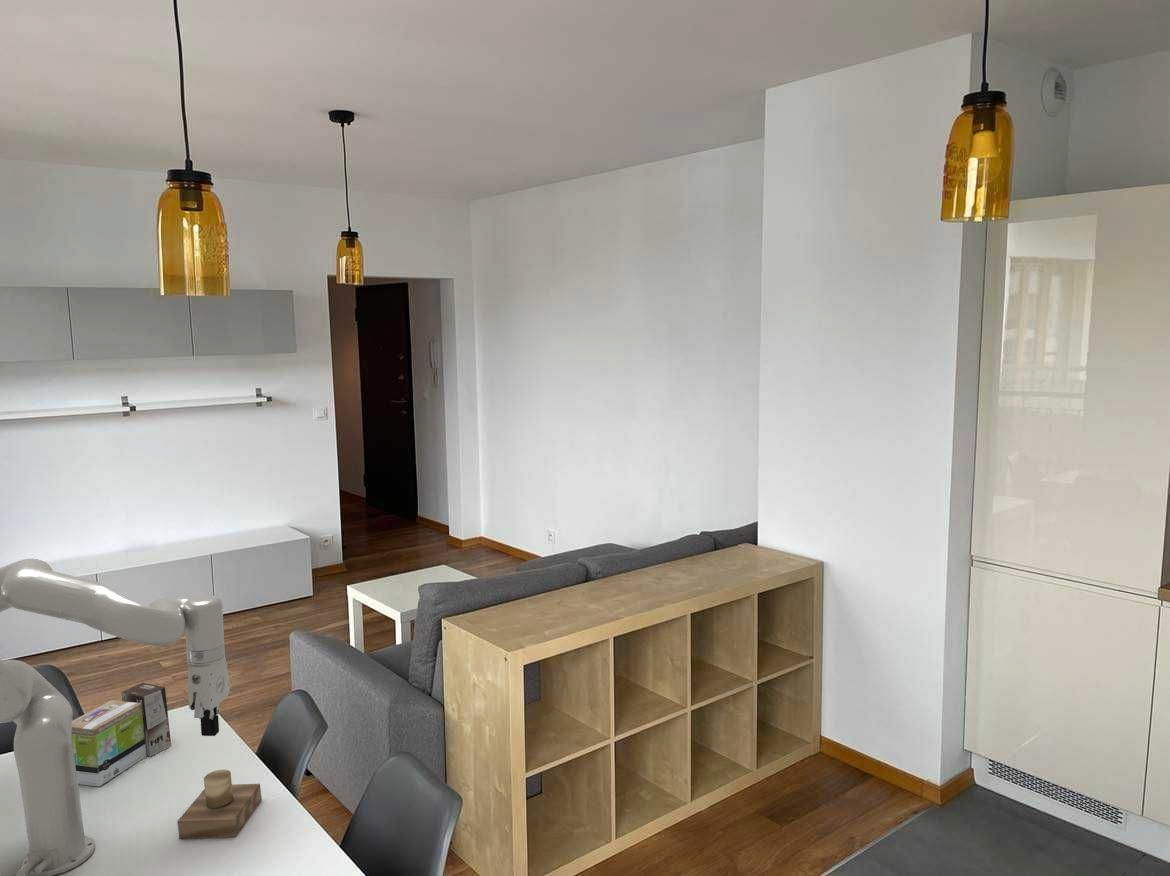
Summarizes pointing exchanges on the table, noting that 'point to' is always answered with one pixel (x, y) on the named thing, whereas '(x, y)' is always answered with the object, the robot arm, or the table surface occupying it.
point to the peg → (218, 789)
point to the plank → (220, 814)
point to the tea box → (108, 741)
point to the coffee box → (152, 715)
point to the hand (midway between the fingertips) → (210, 734)
